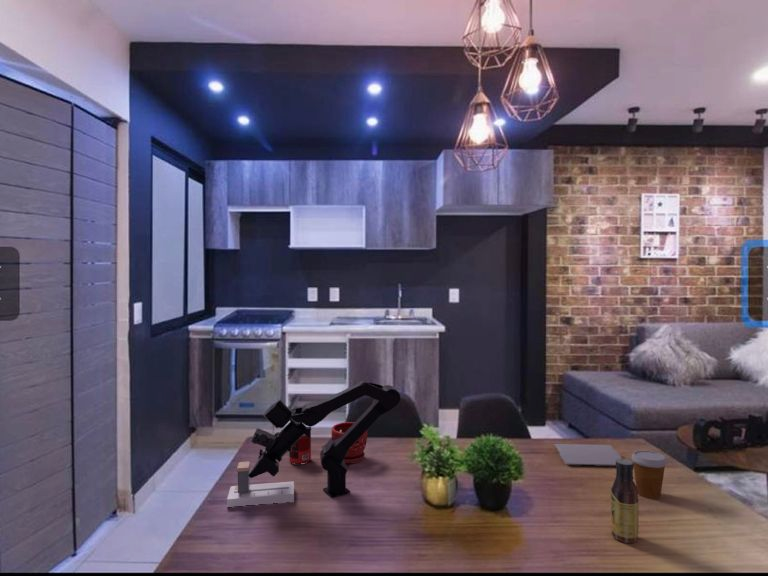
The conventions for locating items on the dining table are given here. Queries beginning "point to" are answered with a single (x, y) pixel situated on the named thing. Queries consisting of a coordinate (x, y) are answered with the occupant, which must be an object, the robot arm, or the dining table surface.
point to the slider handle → (243, 477)
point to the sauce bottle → (624, 503)
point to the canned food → (301, 450)
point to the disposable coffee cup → (649, 472)
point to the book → (588, 454)
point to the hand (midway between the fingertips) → (249, 476)
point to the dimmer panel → (262, 494)
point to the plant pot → (357, 448)
